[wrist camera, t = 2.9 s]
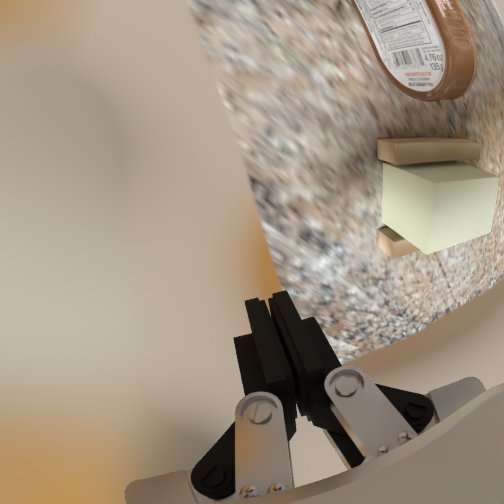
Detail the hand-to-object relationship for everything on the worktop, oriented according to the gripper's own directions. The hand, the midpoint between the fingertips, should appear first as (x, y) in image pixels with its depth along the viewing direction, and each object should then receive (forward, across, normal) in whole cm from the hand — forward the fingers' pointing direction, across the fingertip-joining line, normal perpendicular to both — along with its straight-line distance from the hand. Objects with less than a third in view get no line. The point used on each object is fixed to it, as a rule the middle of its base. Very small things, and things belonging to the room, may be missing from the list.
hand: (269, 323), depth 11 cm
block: (+9, -16, -1) cm, 19 cm away
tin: (+9, -12, -16) cm, 22 cm away
